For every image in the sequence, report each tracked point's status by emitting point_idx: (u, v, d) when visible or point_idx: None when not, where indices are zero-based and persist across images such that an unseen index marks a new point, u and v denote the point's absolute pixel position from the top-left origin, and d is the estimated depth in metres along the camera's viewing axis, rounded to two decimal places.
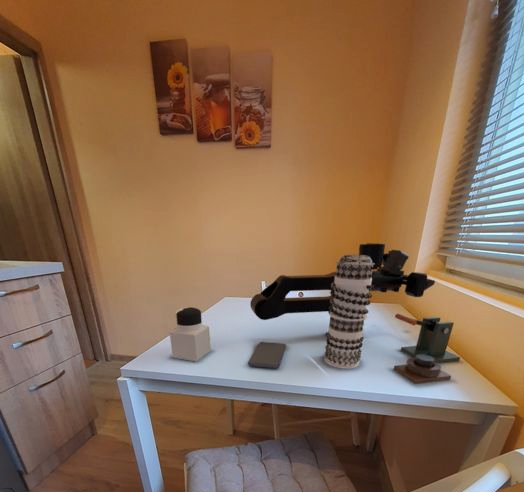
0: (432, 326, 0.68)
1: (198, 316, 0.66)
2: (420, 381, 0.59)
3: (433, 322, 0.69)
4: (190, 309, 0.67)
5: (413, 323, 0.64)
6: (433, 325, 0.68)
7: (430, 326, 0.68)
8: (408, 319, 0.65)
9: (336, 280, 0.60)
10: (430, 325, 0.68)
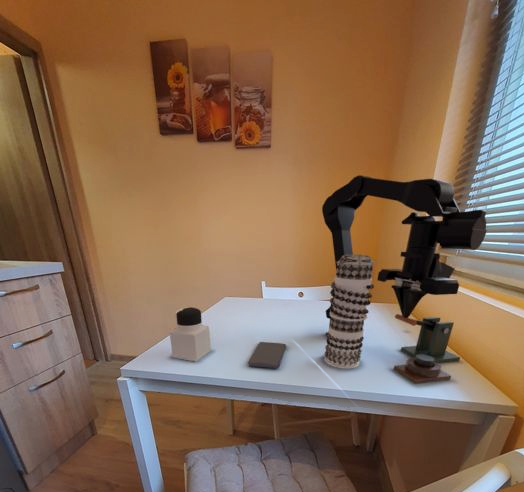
0: (432, 326, 0.68)
1: (198, 316, 0.66)
2: (420, 381, 0.59)
3: (433, 322, 0.69)
4: (190, 309, 0.67)
5: (413, 323, 0.64)
6: (433, 325, 0.68)
7: (430, 326, 0.68)
8: (408, 319, 0.65)
9: (336, 280, 0.60)
10: (430, 325, 0.68)
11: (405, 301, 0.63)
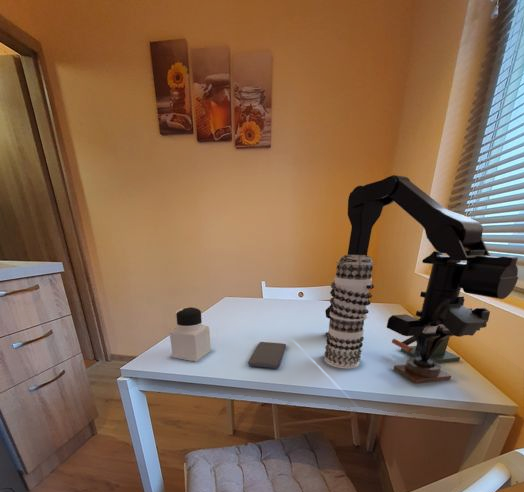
0: None
1: (198, 316, 0.66)
2: (420, 381, 0.59)
3: None
4: (190, 309, 0.67)
5: (409, 350, 0.66)
6: None
7: None
8: (403, 347, 0.68)
9: (336, 280, 0.60)
10: None
11: None
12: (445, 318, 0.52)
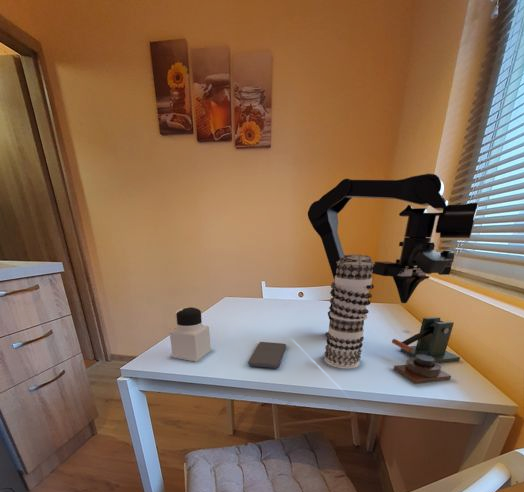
0: (431, 331, 0.69)
1: (198, 316, 0.66)
2: (420, 381, 0.59)
3: (430, 326, 0.69)
4: (190, 309, 0.67)
5: (409, 350, 0.66)
6: (432, 330, 0.69)
7: (429, 332, 0.69)
8: (403, 347, 0.68)
9: (336, 280, 0.60)
10: (429, 332, 0.69)
11: None
12: (418, 260, 0.63)
